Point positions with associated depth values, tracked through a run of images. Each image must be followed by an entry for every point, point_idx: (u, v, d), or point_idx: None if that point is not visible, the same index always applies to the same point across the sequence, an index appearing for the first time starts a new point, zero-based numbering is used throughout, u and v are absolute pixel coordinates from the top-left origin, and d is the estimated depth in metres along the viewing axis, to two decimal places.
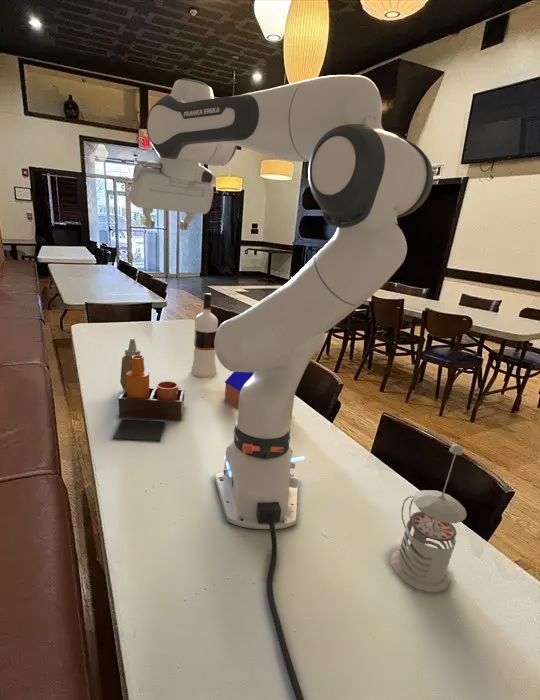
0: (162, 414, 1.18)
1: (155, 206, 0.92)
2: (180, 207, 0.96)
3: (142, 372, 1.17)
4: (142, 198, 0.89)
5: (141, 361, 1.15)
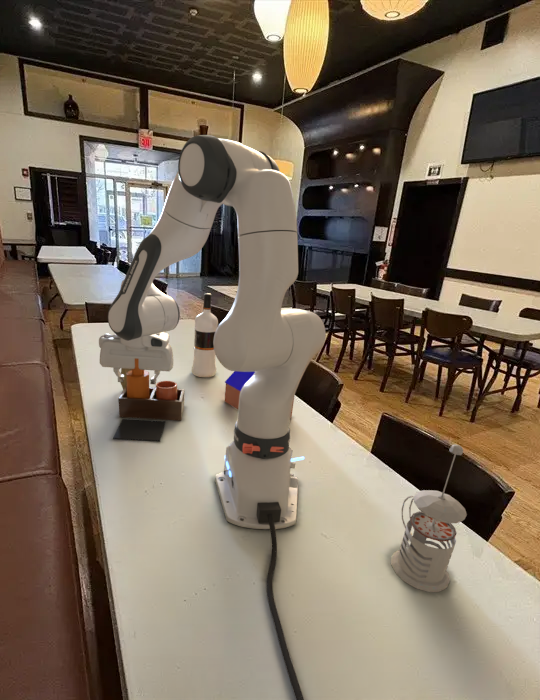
0: (162, 414, 1.18)
1: (117, 366, 1.15)
2: (141, 366, 1.15)
3: (142, 372, 1.17)
4: (104, 360, 1.14)
5: None
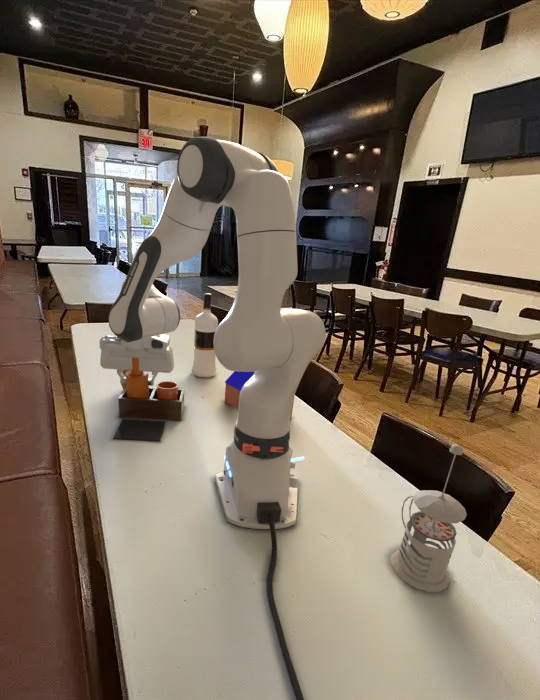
0: (162, 414, 1.18)
1: (118, 367, 1.15)
2: (141, 368, 1.15)
3: (141, 372, 1.17)
4: (105, 362, 1.14)
5: None
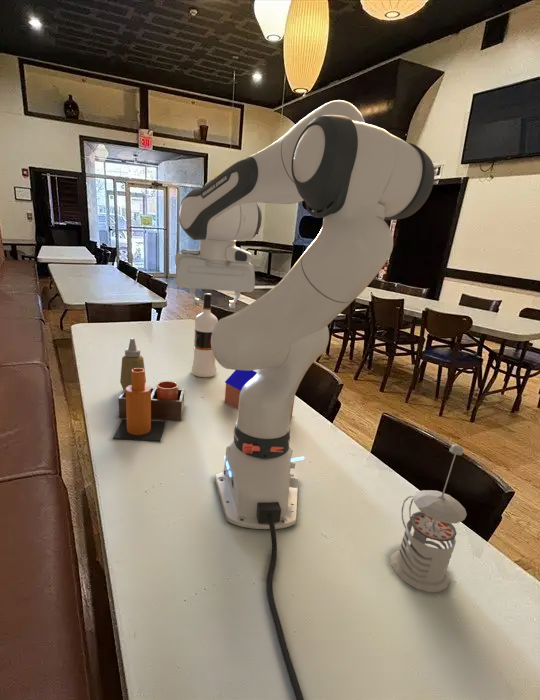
0: (162, 414, 1.18)
1: (195, 285, 1.04)
2: (220, 286, 1.05)
3: (143, 387, 1.06)
4: (181, 279, 1.04)
5: (142, 375, 1.04)
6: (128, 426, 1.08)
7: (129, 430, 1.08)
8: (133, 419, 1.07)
